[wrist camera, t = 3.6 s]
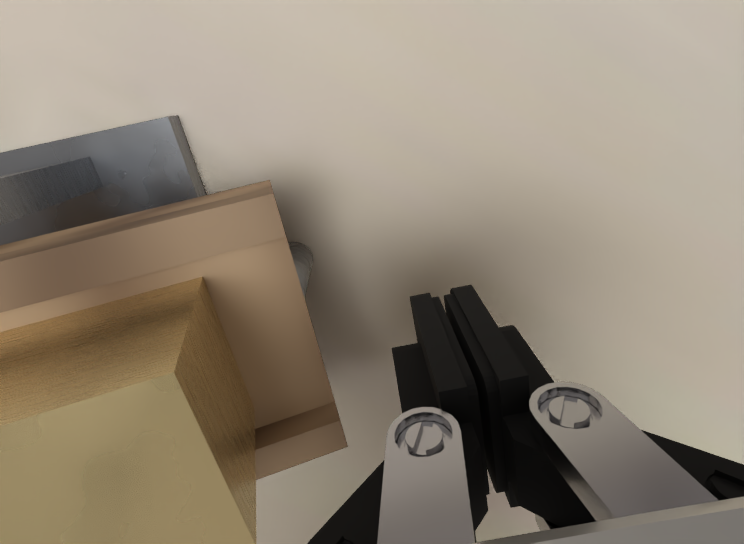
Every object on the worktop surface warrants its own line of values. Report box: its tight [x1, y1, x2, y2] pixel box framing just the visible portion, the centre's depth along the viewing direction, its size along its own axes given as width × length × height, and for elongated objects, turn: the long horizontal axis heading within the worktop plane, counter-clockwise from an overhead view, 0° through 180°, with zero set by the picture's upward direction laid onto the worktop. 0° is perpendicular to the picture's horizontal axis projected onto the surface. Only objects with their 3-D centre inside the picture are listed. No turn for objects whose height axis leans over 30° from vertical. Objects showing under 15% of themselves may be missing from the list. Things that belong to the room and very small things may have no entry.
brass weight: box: [0, 277, 256, 544], centre depth 10 cm, size 6×5×5 cm
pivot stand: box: [0, 115, 313, 298], centre depth 17 cm, size 21×14×7 cm
